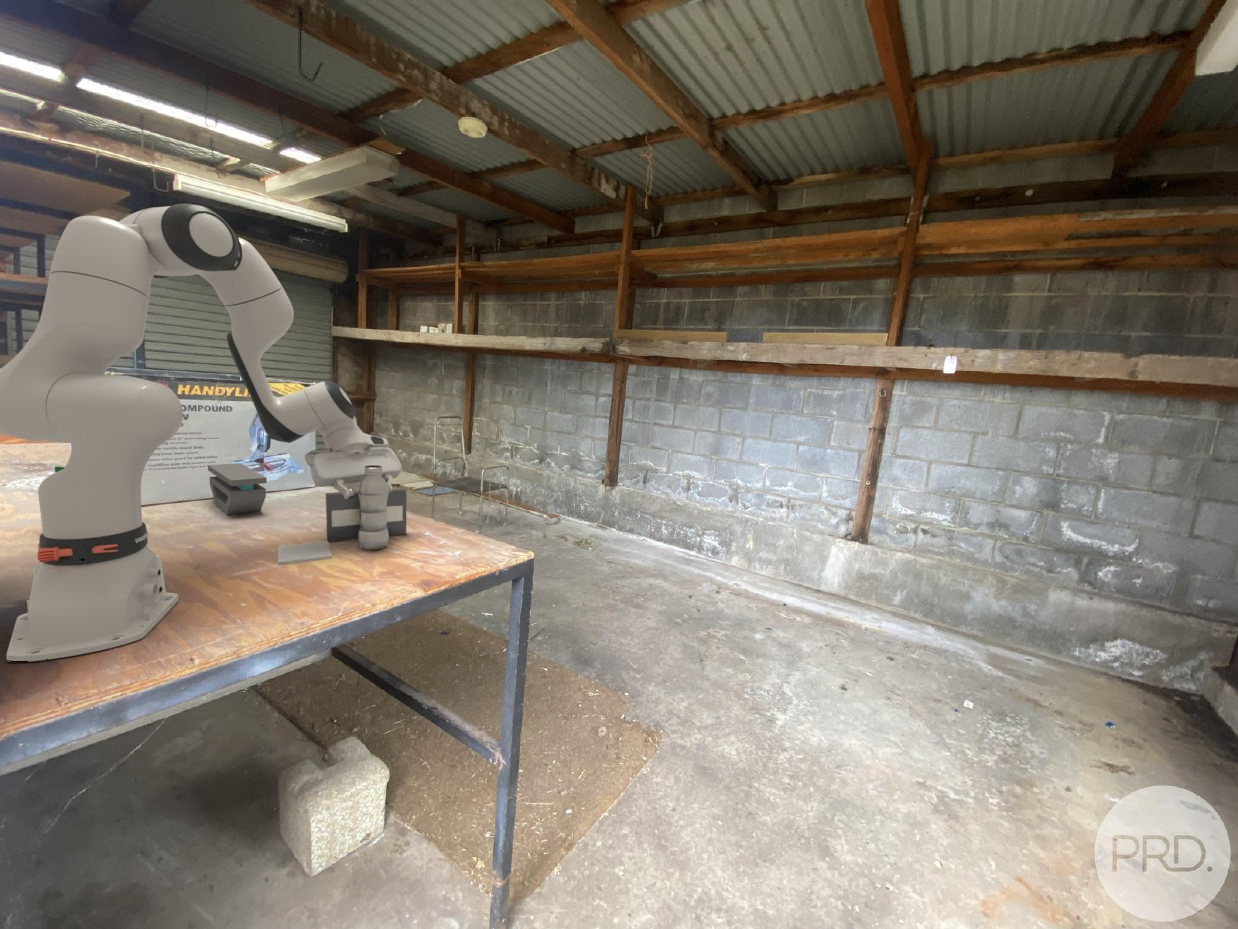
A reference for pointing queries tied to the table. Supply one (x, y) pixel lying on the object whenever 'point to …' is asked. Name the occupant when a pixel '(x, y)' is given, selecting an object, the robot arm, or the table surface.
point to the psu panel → (347, 515)
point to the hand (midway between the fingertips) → (370, 494)
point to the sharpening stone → (237, 488)
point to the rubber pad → (303, 552)
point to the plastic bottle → (373, 509)
